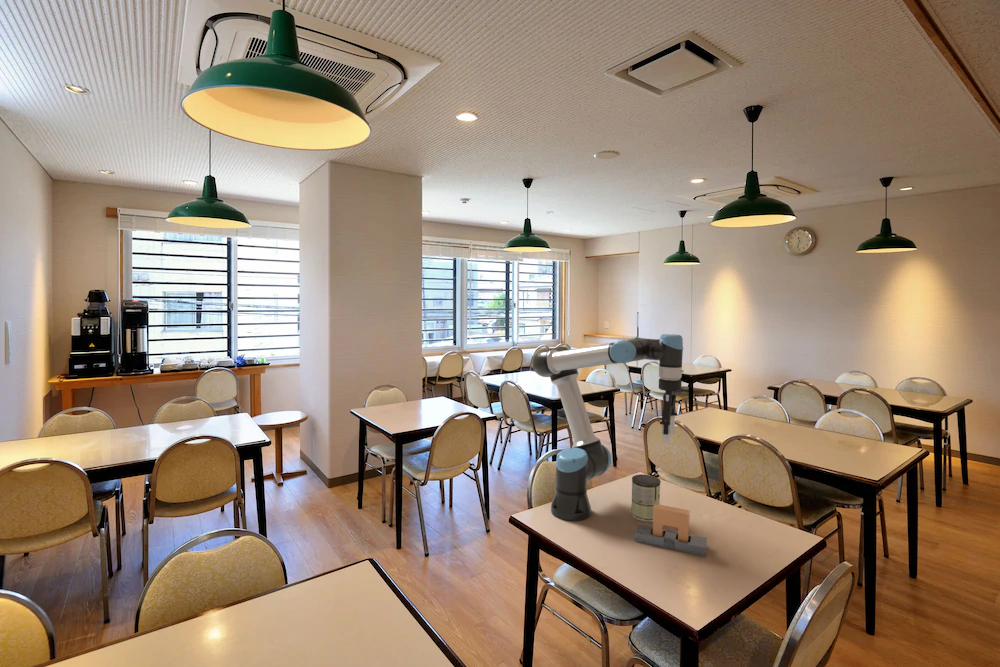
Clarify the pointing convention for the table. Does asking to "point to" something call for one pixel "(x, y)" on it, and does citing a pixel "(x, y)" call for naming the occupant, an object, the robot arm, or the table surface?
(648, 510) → the coffee can
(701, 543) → the rail
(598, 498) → the table surface
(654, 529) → the tan wooden block
